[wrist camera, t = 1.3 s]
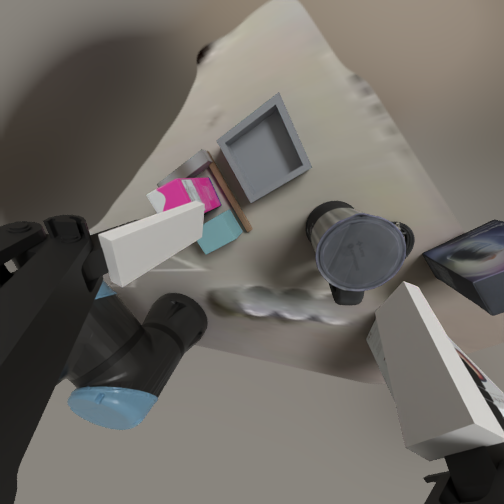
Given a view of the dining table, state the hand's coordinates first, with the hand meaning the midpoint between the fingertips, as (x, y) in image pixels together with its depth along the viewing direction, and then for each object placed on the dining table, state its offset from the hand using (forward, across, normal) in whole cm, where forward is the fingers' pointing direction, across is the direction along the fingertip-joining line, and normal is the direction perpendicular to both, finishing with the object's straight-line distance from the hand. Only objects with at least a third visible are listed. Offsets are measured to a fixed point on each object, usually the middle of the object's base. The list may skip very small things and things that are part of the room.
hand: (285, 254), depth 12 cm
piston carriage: (+20, +15, +12) cm, 28 cm away
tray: (+23, +10, -3) cm, 26 cm away
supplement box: (+20, +20, +7) cm, 29 cm away
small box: (+29, -26, +3) cm, 39 cm away
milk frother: (+26, -9, +5) cm, 27 cm away
